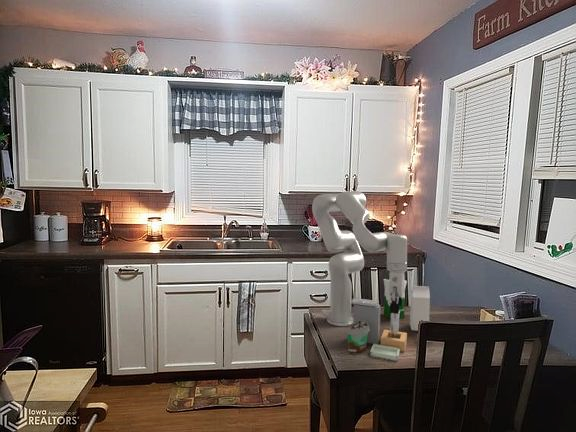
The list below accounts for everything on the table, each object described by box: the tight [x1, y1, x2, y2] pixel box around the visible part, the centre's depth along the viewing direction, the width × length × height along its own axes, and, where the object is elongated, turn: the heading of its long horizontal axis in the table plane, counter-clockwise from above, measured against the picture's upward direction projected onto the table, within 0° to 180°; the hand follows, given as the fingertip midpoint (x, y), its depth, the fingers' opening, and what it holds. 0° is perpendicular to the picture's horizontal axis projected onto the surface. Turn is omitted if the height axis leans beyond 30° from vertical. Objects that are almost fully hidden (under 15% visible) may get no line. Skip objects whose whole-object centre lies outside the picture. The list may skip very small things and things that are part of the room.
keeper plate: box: [351, 297, 379, 307], centre depth 156 cm, size 10×4×1 cm, turn 67°
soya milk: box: [382, 273, 408, 320], centre depth 183 cm, size 9×9×20 cm
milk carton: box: [409, 285, 431, 332], centre depth 169 cm, size 7×7×19 cm
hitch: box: [352, 304, 408, 353], centre depth 154 cm, size 20×9×15 cm, turn 67°
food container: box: [346, 319, 370, 354], centre depth 148 cm, size 12×6×10 cm, turn 148°
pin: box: [389, 311, 400, 339], centre depth 152 cm, size 3×3×14 cm
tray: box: [369, 344, 401, 362], centre depth 145 cm, size 10×7×2 cm
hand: (396, 309), depth 151 cm, fingers open, 9 cm apart
